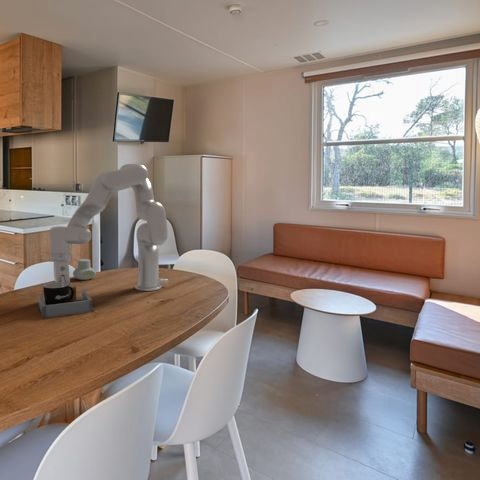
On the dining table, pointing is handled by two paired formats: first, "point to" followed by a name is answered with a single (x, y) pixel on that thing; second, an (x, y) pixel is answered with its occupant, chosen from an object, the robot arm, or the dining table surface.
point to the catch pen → (66, 306)
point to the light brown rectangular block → (74, 292)
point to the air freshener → (84, 270)
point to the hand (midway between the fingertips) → (61, 299)
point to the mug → (57, 293)
